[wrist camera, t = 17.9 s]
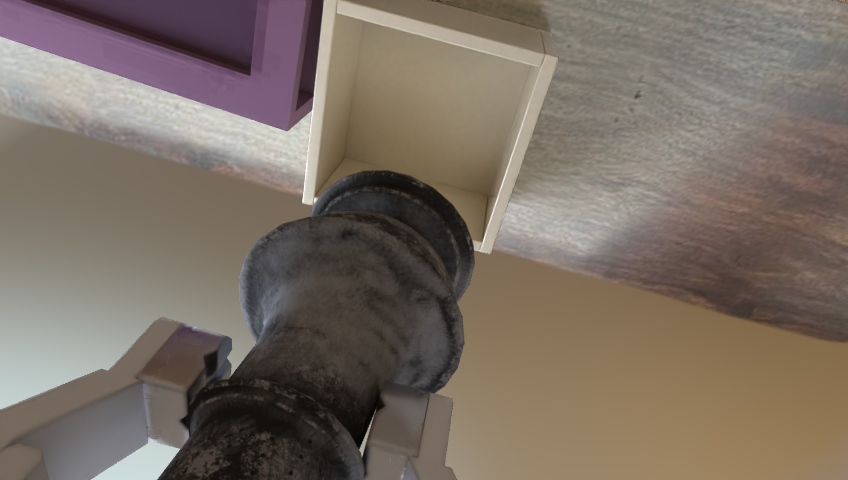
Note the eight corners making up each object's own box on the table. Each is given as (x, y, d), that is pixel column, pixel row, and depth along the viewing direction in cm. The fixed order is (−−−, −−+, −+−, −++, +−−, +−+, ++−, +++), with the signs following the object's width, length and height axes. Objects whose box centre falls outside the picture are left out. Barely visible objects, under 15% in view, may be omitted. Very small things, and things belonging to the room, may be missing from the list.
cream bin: (552, 32, 27) (559, 57, 22) (495, 202, 32) (490, 254, 27) (361, -18, 27) (323, -6, 22) (336, 159, 32) (301, 203, 27)
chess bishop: (526, 239, 15) (424, 920, 4) (420, 355, 18) (221, 906, 8) (349, 118, 14) (-214, 584, 4) (273, 260, 17) (-148, 719, 7)
